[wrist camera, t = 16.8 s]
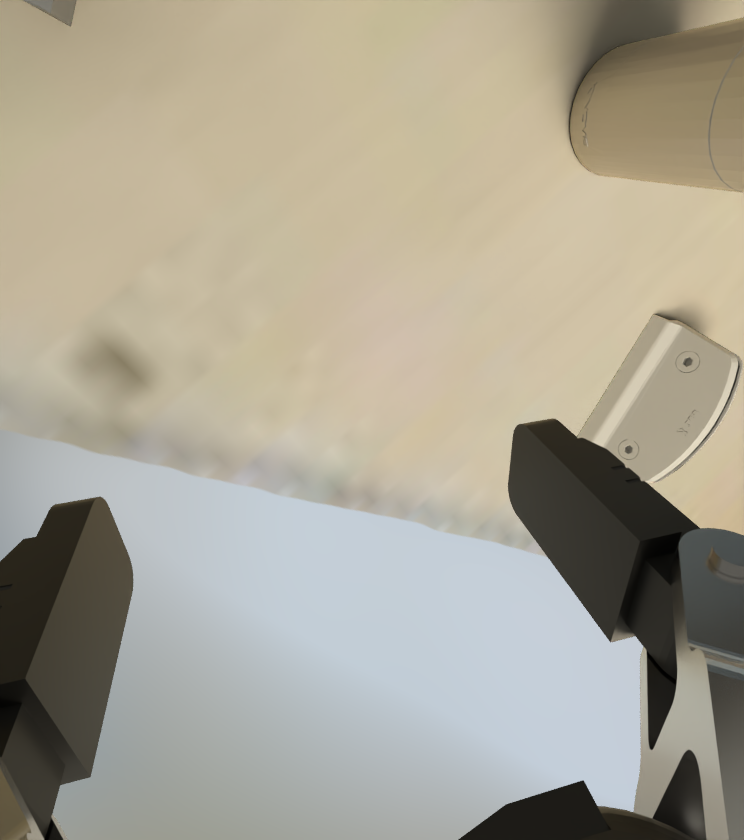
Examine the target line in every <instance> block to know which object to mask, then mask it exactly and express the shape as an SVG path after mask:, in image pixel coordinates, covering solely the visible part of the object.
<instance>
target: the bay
mask: <svg viewBox="0 0 744 840" xmlns="http://www.w3.org/2000/svg"><path fill="white" fill-rule="evenodd" d="M23 1H25V2H27V3H29V4H31V5H32V6H34V7H36V8H38V9H40V10H42V11H43V12H45V13H47V14H49V15H51V16H53V17H54V18H56V19H58V20H60V21H62V22H64V23H65V24H67V25H69V26H71V23H72V19H73V14H74V9H75V4H76V0H23Z"/></svg>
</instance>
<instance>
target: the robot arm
mask: <svg viewBox="0 0 744 840" xmlns="http://www.w3.org/2000/svg"><path fill="white" fill-rule="evenodd" d="M570 134H571V142H572V146H573V149H574V151H575V154H576V156H577V158H578V159H579V161H580V162H581V164H582V165H583V166H584V167H585V168H587V169H588V170H589V171H591V172H593V173H595V174H597V175H602V176H608V177H616V178H625V179H632V180H640V181H648V182H657V183H666V184H674V185H683V186H692V187H700V188H709V189H717V190H726V191H735V192H744V18H739V19H735V20H731V21H726V22H722V23H717V24H713V25H709V26H704V27H700V28H695V29H691V30H687V31H682V32H678V33H674V34H669V35H664V36H659V37H655V38H651V39H646V40H642V41H638V42H633V43H629V44H626V45H622V46H619V47H617V48H615V49H613V50H611V51H610V52H608V53H606V54H605V55H604V56H603V57H602V58H601V59H599V60H598V61H597V62H596V63H595V64H594V66H593V67H592V68H591V69H590V71H589V72H588V73H587V74H586V76H585V78H584V80H583V81H582V83H581V85H580V87H579V89H578V92H577V94H576V97H575V100H574V102H573V107H572V112H571V119H570ZM508 492H509V498H510V501H511V504H512V507H513V509H514V511H515V513H516V514H517V516H518V517H519V518H520V520H521V521H522V523H523V524H524V525H525V527H526V528H527V529H528V531H529V532H530V533H531V535H532V536H533V538H534V539H535V540H536V542H537V543H538V544H539V546H540V547H541V548H542V550H543V551H544V552H545V554H546V555H547V557H548V558H549V559H550V561H551V562H552V563H553V565H554V566H555V567H556V569H557V570H558V572H559V573H560V574H561V576H562V577H563V578H564V580H565V581H566V582H567V584H568V585H569V586H570V588H571V589H572V591H573V592H574V593H575V595H576V596H577V597H578V599H579V600H580V601H581V603H582V604H583V606H584V607H585V608H586V610H587V611H588V612H589V614H590V615H591V616H592V618H593V619H594V620H595V622H596V623H597V624H598V626H599V627H600V629H601V630H602V631H603V633H604V634H605V635H606V637H607V638H608V639H609V641H610V642H615V641H618V640H622V639H626V638H630V637H633V636H636V637H637V639H638V640H639V641H640V642H641V644H642V645H643V646H644V647H643V650H642V653H641V658H640V706H641V707H640V713H641V764H640V774H639V781H638V785H637V790H636V796H635V805H634V812H630V811H627V810H622V809H616V808H609V807H601V806H597V805H596V803H595V801H594V799H593V797H592V796H591V794H590V792H589V790H588V788H587V786H586V784H585V783H584V781H580V782H577V783H573V784H570V785H567V786H564V787H561V788H558V789H554V790H551V791H548V792H545V793H541V794H538V795H535V796H532V797H528V798H525V799H522V800H519V801H516V802H513V803H509V804H507V805H505V806H504V807H502V808H501V809H499V810H498V811H497V812H495V813H494V814H493V815H491V816H490V817H489V818H487V819H486V820H484V821H483V822H482V823H480V824H479V825H478V826H476V827H475V828H474V829H472V830H471V831H470V832H468V833H467V834H466V835H464V836H463V837H461V838H460V839H459V840H744V535H741V534H738V533H735V532H731V531H727V530H722V529H714V528H701V529H700V528H699V527H698V526H697V525H696V524H694V523H693V522H692V521H691V520H690V519H689V518H687V517H686V516H685V515H684V514H683V513H682V512H680V511H679V510H678V509H677V508H676V507H674V506H673V505H672V504H671V503H670V502H669V501H667V500H666V499H665V498H664V497H663V496H662V495H660V494H659V493H658V492H657V491H656V490H654V489H653V488H652V487H651V486H650V485H649V484H647V483H646V482H645V481H641V480H640V477H639V476H638V475H637V474H636V473H635V472H633V471H632V470H631V469H630V468H626V467H625V464H624V463H623V462H622V461H620V460H619V459H618V458H617V457H616V456H615V455H613V454H612V453H611V452H610V451H609V450H608V449H606V448H604V447H602V446H599V445H597V444H595V443H593V442H591V441H589V440H587V439H585V438H577V437H576V436H575V435H574V434H573V433H571V432H570V431H569V430H568V429H567V428H566V427H565V426H564V425H563V424H561V423H560V422H559V421H558V420H556V419H547V420H541V421H536V422H530V423H524V424H519V425H517V426H516V428H515V430H514V434H513V442H512V452H511V461H510V471H509V481H508ZM132 591H133V570H132V565H131V561H130V558H129V555H128V552H127V550H126V548H125V545H124V543H123V540H122V538H121V535H120V533H119V531H118V528H117V526H116V523H115V521H114V518H113V516H112V513H111V511H110V508H109V507H108V504H107V502H106V501H105V500H104V499H103V498H102V497H96V498H90V499H85V500H78V501H73V502H68V503H61V504H56V505H54V506H52V507H51V509H50V510H49V512H48V514H47V516H46V518H45V520H44V522H43V524H42V526H41V528H40V530H39V532H38V534H37V536H36V537H33V538H28V539H23V540H22V541H21V542H20V543H19V544H18V545H17V546H16V547H15V548H14V549H13V550H12V551H11V552H10V553H9V554H8V555H7V556H6V557H5V558H3V559H2V560H1V561H0V840H68V839H67V838H66V836H65V834H64V832H63V830H62V829H61V827H60V825H59V823H58V822H57V820H56V818H55V817H54V816H53V815H52V813H53V809H54V805H55V801H56V798H57V794H58V791H59V787H60V785H62V784H66V783H70V782H73V781H77V780H81V779H85V778H89V777H90V776H91V772H92V768H93V763H94V759H95V754H96V750H97V746H98V741H99V737H100V733H101V728H102V724H103V719H104V715H105V710H106V706H107V702H108V697H109V693H110V688H111V684H112V680H113V675H114V671H115V667H116V662H117V658H118V653H119V649H120V645H121V640H122V636H123V631H124V627H125V622H126V618H127V614H128V609H129V605H130V600H131V596H132Z"/></svg>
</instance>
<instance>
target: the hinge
mask: <svg viewBox="0 0 744 840" xmlns="http://www.w3.org/2000/svg"><path fill="white" fill-rule="evenodd" d="M742 371H743V363H742V360H741V359H740V357H739V356H737V355H736V354H734V353H732V352H731V351H729V350H728V349H726V348H724V347H723V346H721V345H719V344H718V343H716V342H714V341H713V340H711V339H709V338H708V337H706V336H704V335H703V334H701V333H699V332H698V331H696V330H694V329H693V328H691V327H689V326H688V325H686V324H684V323H681V322H680V321H678V320H667V319H665V318H663V317H660V316H658V315H654V314H653V315H652V317H651V319H650V320H649V322H648V323H647V325H646V327H645V328H644V330H643V331H642V333H641V335H640V336H639V338H638V340H637V341H636V343H635V344H634V346H633V348H632V349H631V351H630V352H629V354H628V356H627V357H626V359H625V360H624V362H623V364H622V365H621V367H620V369H619V370H618V372H617V373H616V375H615V377H614V378H613V380H612V381H611V383H610V385H609V386H608V388H607V389H606V391H605V393H604V394H603V396H602V398H601V399H600V401H599V402H598V404H597V406H596V407H595V409H594V410H593V412H592V414H591V415H590V417H589V418H588V420H587V422H586V423H585V425H584V427H583V428H582V430H581V431H580V433H579V435H578V436H577V438H585V439H587V440H589V441H591V442H593V443H595V444H597V445H599V446H602V447H604V448H606V449H608V450H609V451H610V452H611V453H612V454H613V455H615V456H616V457H617V458H618V459H619V460H620V461H622V462H623V463H624V464H625V467H626V468H630V469H631V470H632V471H633V472H635V473H636V474H637V475H638V476H639V477H640V480H641V481H645V482H646V483H655V482H659V481H661V480H663V479H664V478H666V477H667V476H669V475H671V474H672V473H673V472H675V471H676V470H678V469H679V468H680V467H682V466H683V465H684V464H685V463H686V462H688V461H689V460H690V459H691V458H692V457H693V456H694V455H695V454H696V453H697V452H698V451H699V450H700V449H701V448H702V447H703V446H704V445H705V444H706V443H707V442H708V440H709V439H710V438H711V437H712V435H713V434H714V433H715V431H716V430H717V428H718V427H719V425H720V424H721V422H722V421H723V419H724V417H725V415H726V414H727V412H728V410H729V408H730V406H731V404H732V401H733V399H734V397H735V394H736V392H737V389H738V386H739V383H740V379H741V375H742Z"/></svg>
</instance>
